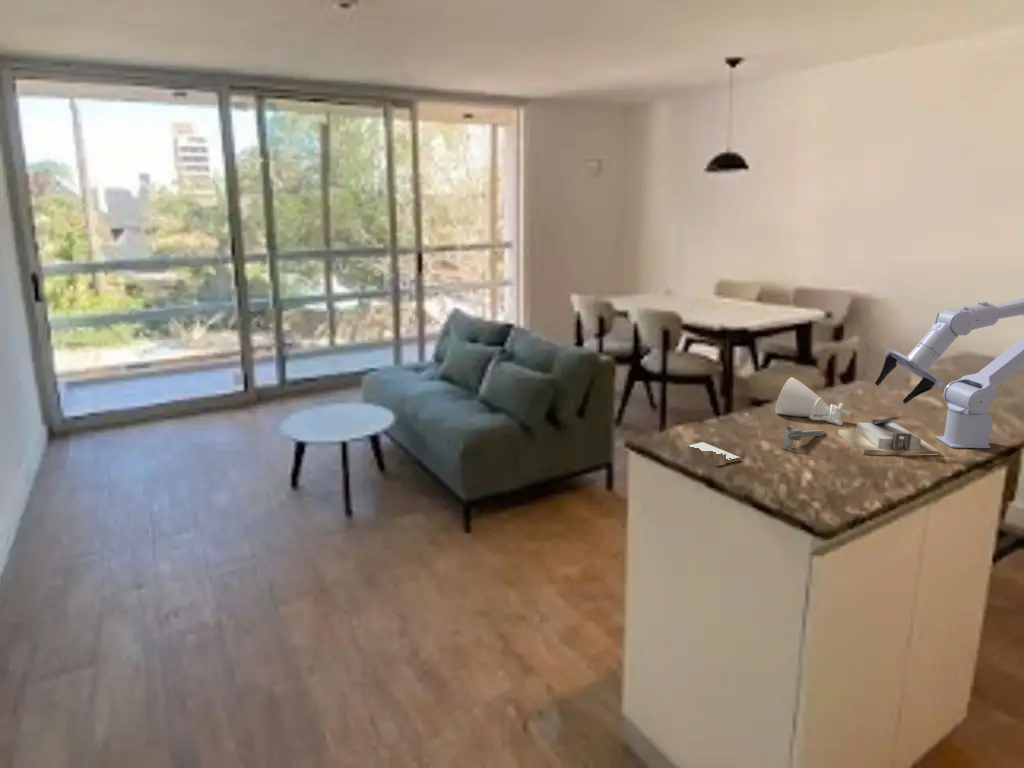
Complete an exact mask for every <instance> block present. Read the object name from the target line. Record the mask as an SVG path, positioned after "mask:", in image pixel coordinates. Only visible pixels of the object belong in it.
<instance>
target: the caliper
mask: <svg viewBox="0 0 1024 768" xmlns="http://www.w3.org/2000/svg"><path fill="white" fill-rule="evenodd" d="M794 428H795V427H794V426H792V425H787V426H786V430H785V431H784V434H783V438H782V439H783V442H782V450H786V451H788V450H791V449H792V447H793V443H794V441H801V438H809V437H820V436H823V435H826V431H824V430H822V429H811V430H810V429H809V430H802V429H794ZM788 448H789V449H788ZM790 448H791V449H790Z"/></svg>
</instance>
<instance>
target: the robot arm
mask: <svg viewBox="0 0 1024 768" xmlns="http://www.w3.org/2000/svg"><path fill="white" fill-rule="evenodd" d="M1017 316H1018V317H1019V316H1023V318H1024V297H1021V298H1018V299H1013V300H1011V301H1007V302H1004V303H1000V304H996V305H995V304H993V303H990V302H987V301H978V303H977V304H975V305H972V306H971V305H970V306H965V305H964V306H960V307H959V308H958V309H957V310H956V309H953V308H952V309H950V308H947V309H944V310H942V311H941V312H937V313H936V315H935V316H934V317H935V318H934V321H933V325H932V326H931V327H930V329H929V330H928V331H927V333H926V334H925V335H924V336H923V337H922V339H921V340H920V341H919V342H917V344H916V345H915V346H914V348H913V349H912V350H911V351H910V352H909V353H908V354H907V355H904V354H902V353H900V352H899V351H897V350H895V349H893V348H891V347H888V348H887V349H886V350H885V352H884V355H883V356H885V359H884V363H883V367H882V369H881V371H880V374H879V376H878V378H877V379H876V381H875V383H874V384H875V386H878V387H879V386H880V385H881V384H882V382H883V381H884V380H885V378H886V377H887V376H888V375H889V374H890V373H891V372H892V371H893V370H894V369H895V368H896V367H897V365H898V364H899V365H900V366H902V367H903V368H905V369H907V371H908V370H909V371H910V372H912V373H914V374H915V376H916V375H917V377H918V376H919V377H920V378H921V380H920V381H919V382H918V383H917V385H916V386H915V387H914V388H913V390H912V391H910V392H909V393H908V394H907V395H906V396H905V398H904V399H903V400H902V403H903V404H905V405H906V404H907V403H909V402H910V401H911V400H913V399H914V398H916V397H918V396H919V395H921V394H923V393H926V392H928V391H931V390H932V389H933V388H934V387H935V388H937V389H939V388H940V387H941V386H942V385H943V383H944V380H943V379H942V378H940V377H939V376H937V375H936V374H935V373H933V372H931V371H930V368H931V367H932V366H933V365H934V364H935V363H936V362H937V360H938V359H939V358H940V357H941V356H942V355H943V354H944V353H945V351H947V350H948V349H949V347H950V346H951V345H952V344H953V343H954V342H955V340H956V339H957V338H958V337H959V336H967V335H968V334H970V333H971V332H972V331H973V330H977V329H983V328H987V327H990V326H994V325H996V323H997V322H998V321H999V320H1000V319H1005V318H1007V319H1008V318H1011V317H1017ZM1022 368H1024V336H1022V337H1021V338H1020V339H1019V340H1017V341H1016V342H1014V344H1012V345H1011V346H1009V347H1008V348H1007V349H1005V350H1004V351H1003V352H1002V353H1001V354H999V356H997V357H996V358H994V359H993V360H992V361H990V363H988V364H987V365H986V366H984V367H983V368H982V369H980V371H978V372H977V373H973V374H967V375H963V376H962V377H960V378H959V379H957V380H953V381H950V382H949V383H948V384H947V385H946V386H945V387H944V390H943V393H942V395H943V399H944V401H945V402H946V407H948V408H947V414H946V420H945V427H944V433H943V435H937V436H935V437H936V439H937V438H938V440H939V441H940V442H942V443H944V444H946V445H947V446H948V447H950V448H953V449H954V448H957V449H958V448H961V449H962V448H963V449H990V448H991V446H990V445H989V444H990V439H991V434H992V428H993V418H992V415H991V413H990V412H989V411H987V410H988V409H989V408H990V407H991V405H992V403H993V402H994V400H996V399H997V398H998V397H999V396H998V390H997V388H998V387H999V386H1000V385H1002V384H1004V383H1005V382H1006V381H1007V380H1009V378H1011V377H1012V376H1014V375H1015V374H1016V373H1017V372H1018V371H1019V372H1020V370H1021V369H1022Z"/></svg>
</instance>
